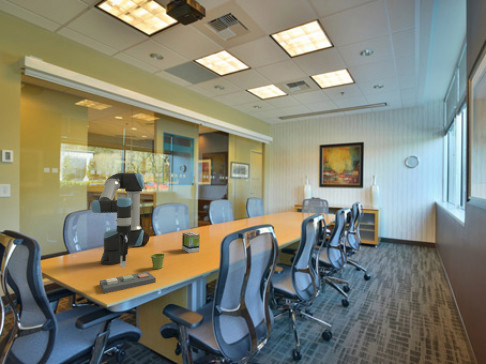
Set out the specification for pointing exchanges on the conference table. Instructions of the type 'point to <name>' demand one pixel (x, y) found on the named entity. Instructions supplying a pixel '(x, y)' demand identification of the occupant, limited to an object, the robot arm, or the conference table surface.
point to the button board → (127, 283)
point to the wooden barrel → (144, 234)
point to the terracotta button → (143, 275)
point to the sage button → (127, 278)
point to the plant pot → (157, 260)
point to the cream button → (111, 281)
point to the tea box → (190, 242)
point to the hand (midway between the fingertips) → (123, 266)
